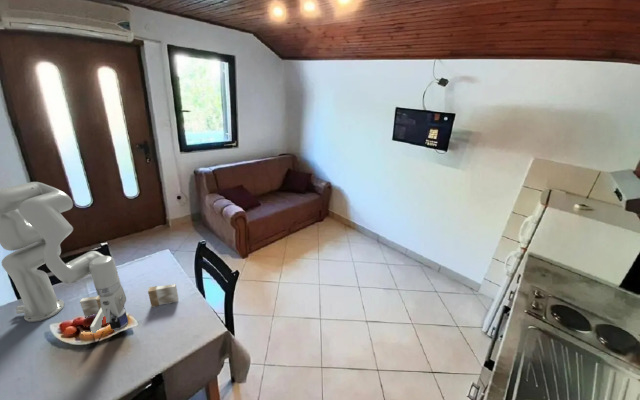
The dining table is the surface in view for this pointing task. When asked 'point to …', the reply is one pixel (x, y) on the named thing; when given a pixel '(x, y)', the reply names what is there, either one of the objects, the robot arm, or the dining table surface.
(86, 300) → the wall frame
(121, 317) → the pill bottle
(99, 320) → the white rectangular slab
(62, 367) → the dining table surface
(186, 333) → the dining table surface
